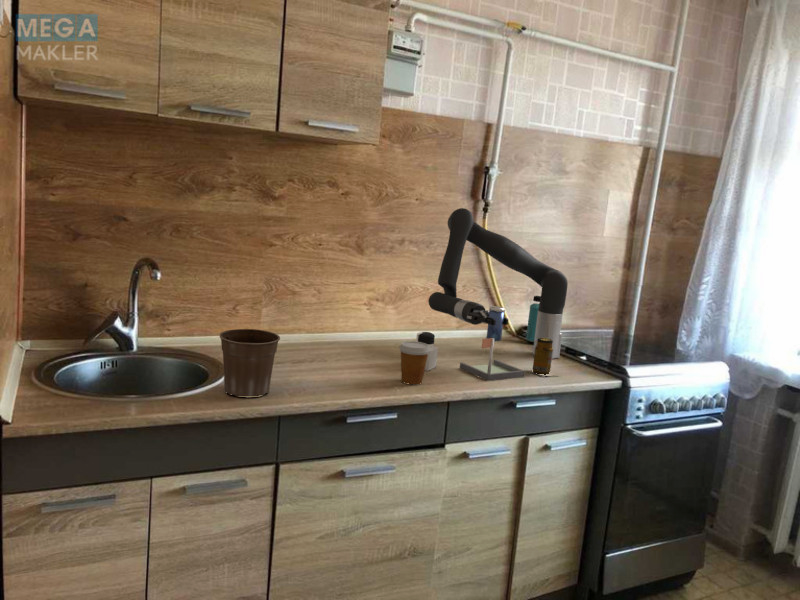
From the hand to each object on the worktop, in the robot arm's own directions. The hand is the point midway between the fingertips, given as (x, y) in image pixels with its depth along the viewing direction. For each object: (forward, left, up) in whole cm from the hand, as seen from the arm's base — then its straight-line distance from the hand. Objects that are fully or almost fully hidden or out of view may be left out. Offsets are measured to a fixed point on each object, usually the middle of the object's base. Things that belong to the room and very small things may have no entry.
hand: (501, 322), depth 225 cm
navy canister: (+1, -2, -6) cm, 7 cm away
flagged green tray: (+2, -1, -18) cm, 18 cm away
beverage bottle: (-34, -46, -18) cm, 60 cm away
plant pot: (+82, +23, -18) cm, 87 cm away
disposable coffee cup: (+32, +11, -18) cm, 38 cm away
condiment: (-18, -2, -18) cm, 26 cm away
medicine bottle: (+24, -6, -18) cm, 31 cm away
